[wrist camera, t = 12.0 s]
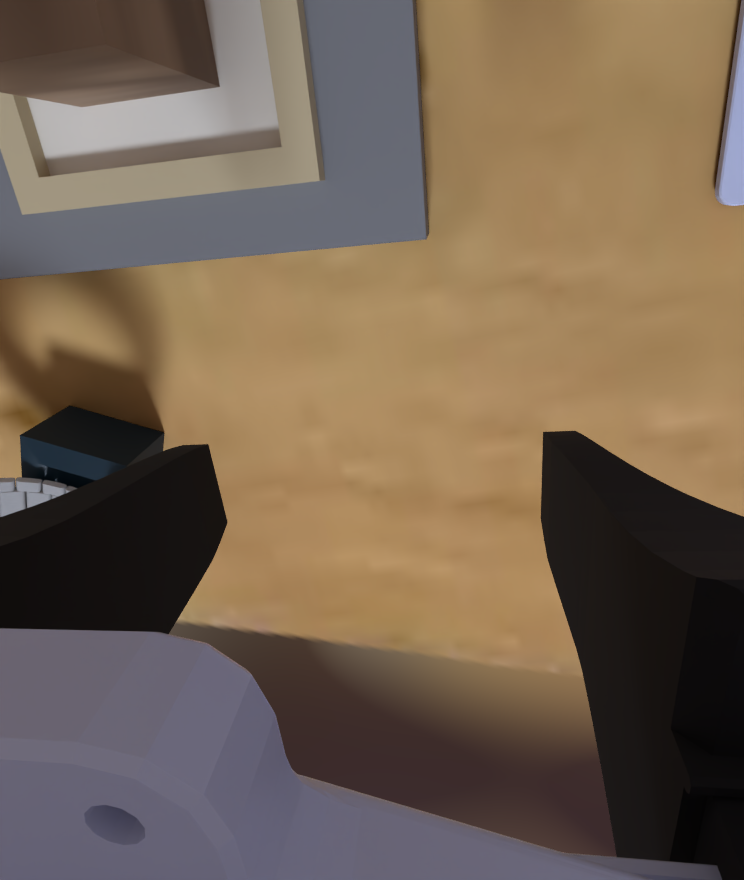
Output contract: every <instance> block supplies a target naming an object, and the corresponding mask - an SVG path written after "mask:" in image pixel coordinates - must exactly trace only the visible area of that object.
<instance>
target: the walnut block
mask: <svg viewBox="0 0 744 880" xmlns="http://www.w3.org/2000/svg"><path fill="white" fill-rule="evenodd" d="M217 87H220V84H219V79H218V73H217V68H216V63H215V57H214V52H213V46H212V41H211V35H210V30H209V24H208V19H207V13H206V8H205V2H204V0H0V92H1V93H6V94H12V95H17V96H23V97H28V98H34V99H39V100H45V101H50V102H56V103H61V104H67V105H72V106H78V107H88V106H94V105H101V104H108V103H115V102H122V101H128V100H135V99H142V98H149V97H155V96H162V95H169V94H176V93H183V92H189V91H196V90H203V89H210V88H217Z"/></svg>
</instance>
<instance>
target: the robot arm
mask: <svg viewBox="0 0 744 880" xmlns="http://www.w3.org/2000/svg"><path fill="white" fill-rule="evenodd" d="M715 196H716V198H717V200H718V201H719V202H720V203H722V204H723V205H732V206H736V205H744V0H741V7H740V14H739V21H738V28H737V35H736V43H735V50H734V57H733V64H732V71H731V79H730V86H729V93H728V100H727V107H726V114H725V122H724V129H723V136H722V143H721V150H720V158H719V165H718V172H717V179H716V186H715ZM541 522H542V529H543V535H544V541H545V547H546V552H547V558H548V561H549V565H550V568H551V571H552V574H553V577H554V581H555V584H556V587H557V590H558V593H559V596H560V599H561V602H562V606H563V609H564V612H565V615H566V618H567V621H568V624H569V627H570V630H571V633H572V637H573V640H574V643H575V646H576V649H577V653H578V656H579V660H580V664H581V668H582V672H583V677H584V681H585V686H586V691H587V696H588V701H589V706H590V711H591V716H592V721H593V726H594V732H595V737H596V742H597V748H598V753H599V758H600V764H601V769H602V774H603V779H604V785H605V791H606V797H607V803H608V808H609V814H610V820H611V825H612V831H613V837H614V842H615V849H616V854H617V857H608V856H596V855H582V854H571V853H562V852H559V851H555V850H552V849H549V848H545V847H542V846H538V845H535V844H532V843H528V842H525V841H522V840H518V839H515V838H512V837H508V836H505V835H501V834H498V833H495V832H491V831H488V830H485V829H481V828H478V827H474V826H471V825H468V824H464V823H461V822H457V821H454V820H451V819H447V818H444V817H441V816H437V815H434V814H430V813H427V812H424V811H420V810H417V809H414V808H410V807H407V806H404V805H400V804H397V803H393V802H390V801H387V800H383V799H380V798H376V797H373V796H370V795H366V794H363V793H359V792H356V791H353V790H350V789H346V788H343V787H339V786H336V785H332V784H329V783H326V782H323V781H319V780H316V779H312V778H309V777H306V776H301V775H297V774H296V773H295V772H294V771H293V770H292V769H291V767H290V765H289V762H288V760H287V758H286V755H285V751H284V747H283V743H282V739H281V735H280V731H279V727H278V723H277V719H276V715H275V713H274V711H273V710H272V708H271V706H270V704H269V703H268V701H267V700H266V698H265V696H264V694H263V693H262V691H261V690H260V688H259V686H258V684H257V683H256V681H255V680H254V678H253V676H252V675H251V674H250V673H249V671H248V670H246V669H245V668H243V667H242V666H240V665H239V664H237V663H236V662H234V661H233V660H231V659H230V658H228V657H227V656H226V655H224V654H222V653H221V652H220V651H218V650H216V649H215V648H214V647H212V646H210V645H209V644H208V643H204V642H200V641H196V640H191V639H187V638H182V637H178V636H174V635H169V632H170V631H171V629H172V627H173V626H174V624H175V622H176V621H177V619H178V617H179V616H180V614H181V612H182V611H183V609H184V607H185V606H186V604H187V603H188V601H189V599H190V598H191V596H192V594H193V593H194V591H195V589H196V588H197V586H198V584H199V582H200V581H201V579H202V577H203V576H204V574H205V572H206V570H207V569H208V567H209V565H210V563H211V562H212V560H213V558H214V556H215V553H216V551H217V548H218V546H219V544H220V541H221V538H222V536H223V533H224V530H225V528H226V525H227V519H226V515H225V511H224V506H223V502H222V498H221V494H220V490H219V486H218V482H217V478H216V474H215V470H214V466H213V462H212V458H211V454H210V450H209V445H208V444H204V445H182V446H178V447H174V448H171V449H168V450H165V451H163V452H160V453H158V454H155V455H153V456H150V457H148V458H146V459H143V460H141V461H139V462H137V463H134V464H132V465H130V466H128V467H125V468H123V469H121V470H119V471H117V472H114V473H112V474H110V475H108V476H105V477H103V478H101V479H99V480H96V481H94V482H91V483H89V484H87V485H84V486H82V487H80V488H77V489H75V490H72V491H70V492H68V493H65V494H63V495H61V496H58V497H56V498H53V499H51V500H48V501H45V502H43V503H40V504H37V505H35V506H32V507H29V508H26V509H23V510H20V511H17V512H14V513H11V514H8V515H5V516H2V517H0V880H744V517H743V516H740V515H737V514H734V513H732V512H729V511H726V510H723V509H721V508H718V507H716V506H713V505H711V504H709V503H706V502H704V501H701V500H699V499H697V498H694V497H692V496H689V495H687V494H685V493H683V492H681V491H678V490H676V489H674V488H672V487H670V486H668V485H666V484H665V483H663V482H661V481H659V480H657V479H655V478H653V477H651V476H649V475H647V474H646V473H644V472H642V471H640V470H639V469H637V468H635V467H633V466H632V465H630V464H628V463H627V462H625V461H623V460H622V459H620V458H619V457H617V456H615V455H614V454H612V453H611V452H609V451H607V450H606V449H604V448H603V447H601V446H600V445H598V444H597V443H595V442H593V441H592V440H590V439H589V438H587V437H586V436H584V435H582V434H580V433H578V432H576V431H559V432H543V460H542V497H541Z"/></svg>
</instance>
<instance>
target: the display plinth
mask: <svg viewBox="0 0 744 880" xmlns="http://www.w3.org/2000/svg"><path fill="white" fill-rule="evenodd" d="M204 2H205V8H206V13H207V19H208V24H209V30H210V35H211V41H212V46H213V52H214V57H215V63H216V68H217V73H218V79H219V84H220V87H217V88H210V89H203V90H196V91H189V92H183V93H176V94H169V95H162V96H155V97H149V98H142V99H135V100H128V101H122V102H115V103H108V104H101V105H94V106H88V107H78V106H72V105H67V104H61V103H56V102H50V101H45V100H39V99H34V98H28V97H23V96H17V95H12V94H6V93H1V92H0V279H9V278H20V277H30V276H41V275H51V274H62V273H73V272H83V271H94V270H105V269H115V268H126V267H136V266H147V265H158V264H168V263H179V262H190V261H200V260H211V259H221V258H232V257H243V256H253V255H264V254H275V253H285V252H296V251H306V250H317V249H328V248H338V247H349V246H360V245H370V244H381V243H391V242H402V241H413V240H423V239H427V236H428V234H429V226H428V208H427V190H426V172H425V154H424V137H423V119H422V101H421V83H420V65H419V47H418V29H417V12H416V0H204Z"/></svg>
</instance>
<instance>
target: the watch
mask: <svg viewBox="0 0 744 880" xmlns="http://www.w3.org/2000/svg"><path fill="white" fill-rule="evenodd" d="M20 443H21V466H22V478H20V477H19V478H16V487H15V478H0V517H2V516H5V515H8V514H11V513H14V512H17V511H20V510H23V509H26V508H29V507H32V506H35V505H37V504H40V503H43V502H45V501H48V500H51V499H53V498H56V497H58V496H61V495H63V494H65V493H68V492H70V491H72V490H75V489H77V488H80V487H82V486H84V485H87V484H89V483H91V482H94V481H96V480H99V479H101V478H103V477H105V476H108V475H110V474H112V473H114V472H117V471H119V470H121V469H123V468H125V467H128V466H130V465H132V464H134V463H137V462H139V461H141V460H143V459H146V458H148V457H150V456H153V455H155V454H158V453H160V452H163V443H164V432H160V431H157V430H153V429H150V428H146V427H143V426H139V425H136V424H132V423H129V422H125V421H122V420H118V419H115V418H112V417H108V416H105V415H101V414H98V413H94V412H91V411H87V410H84V409H80V408H77V407H73V406H68V407H67V408H65V409H63V410H62V411H60V412H58V413H56V414H55V415H53V416H51V417H50V418H48V419H46V420H45V421H43V422H41V423H40V424H38V425H36V426H35V427H33V428H31V429H30V430H28V431H26V432H25V433H23V434H21V435H20Z"/></svg>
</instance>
